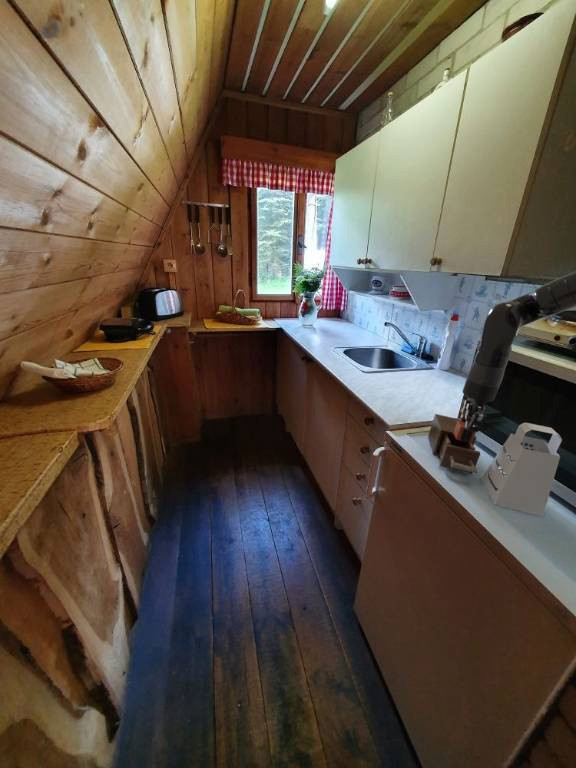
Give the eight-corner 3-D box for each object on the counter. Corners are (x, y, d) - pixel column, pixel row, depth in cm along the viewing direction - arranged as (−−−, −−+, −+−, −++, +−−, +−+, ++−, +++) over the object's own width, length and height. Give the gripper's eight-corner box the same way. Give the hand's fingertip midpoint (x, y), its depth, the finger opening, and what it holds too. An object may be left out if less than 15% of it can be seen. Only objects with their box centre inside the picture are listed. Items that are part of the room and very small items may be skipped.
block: (468, 436, 87) (472, 423, 86) (471, 442, 84) (476, 430, 82) (453, 432, 88) (457, 420, 87) (456, 439, 84) (460, 426, 83)
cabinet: (467, 462, 91) (476, 437, 88) (433, 454, 93) (441, 430, 90) (458, 443, 102) (466, 420, 99) (428, 436, 104) (435, 413, 101)
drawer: (477, 485, 80) (486, 463, 77) (443, 476, 82) (450, 455, 79) (463, 454, 94) (470, 435, 91) (434, 447, 96) (440, 428, 93)
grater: (481, 478, 84) (508, 414, 77) (523, 488, 82) (555, 423, 75) (494, 504, 75) (526, 434, 68) (542, 516, 73) (581, 445, 65)
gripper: (509, 392, 72) (485, 453, 78) (490, 375, 85) (470, 428, 91) (475, 386, 74) (453, 446, 80) (461, 369, 87) (443, 423, 93)
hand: (462, 436), depth 86 cm, fingers closed on block, 4 cm apart
